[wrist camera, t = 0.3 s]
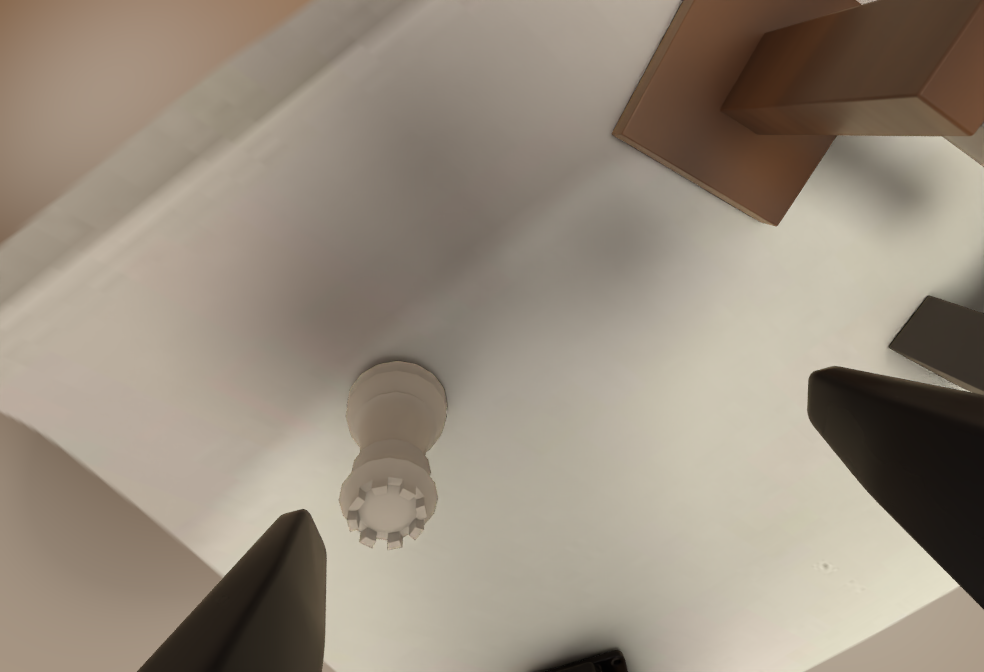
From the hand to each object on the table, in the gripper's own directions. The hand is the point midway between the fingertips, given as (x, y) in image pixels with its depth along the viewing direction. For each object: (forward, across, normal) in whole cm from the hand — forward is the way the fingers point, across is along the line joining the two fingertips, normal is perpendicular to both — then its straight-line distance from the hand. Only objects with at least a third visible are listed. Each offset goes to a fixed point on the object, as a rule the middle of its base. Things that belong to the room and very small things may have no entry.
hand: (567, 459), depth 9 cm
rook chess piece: (+14, +5, +6) cm, 16 cm away
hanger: (+14, -15, -2) cm, 21 cm away
